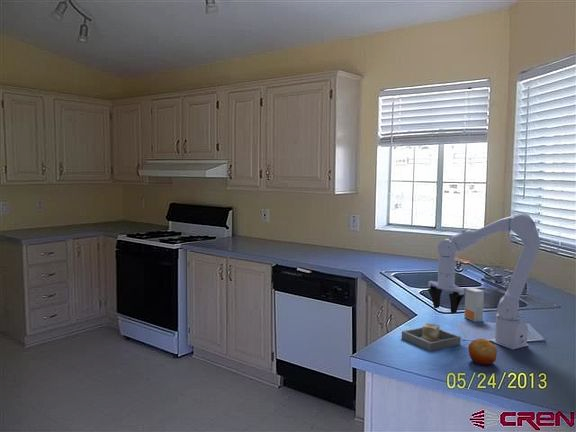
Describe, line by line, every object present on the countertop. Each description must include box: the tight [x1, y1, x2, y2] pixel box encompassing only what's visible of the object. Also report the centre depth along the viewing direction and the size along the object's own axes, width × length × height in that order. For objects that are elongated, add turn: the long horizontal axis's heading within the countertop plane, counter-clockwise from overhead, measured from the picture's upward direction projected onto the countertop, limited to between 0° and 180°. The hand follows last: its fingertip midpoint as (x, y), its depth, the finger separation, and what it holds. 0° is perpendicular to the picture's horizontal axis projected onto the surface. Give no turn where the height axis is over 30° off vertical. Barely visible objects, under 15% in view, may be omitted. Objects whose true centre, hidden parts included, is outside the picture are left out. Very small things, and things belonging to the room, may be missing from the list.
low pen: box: [401, 326, 462, 352], centre depth 165 cm, size 14×14×2 cm
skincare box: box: [463, 287, 485, 323], centre depth 190 cm, size 6×4×12 cm
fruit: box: [467, 338, 498, 366], centre depth 147 cm, size 8×8×8 cm
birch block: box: [421, 322, 440, 342], centre depth 164 cm, size 4×4×5 cm
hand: (444, 310), depth 173 cm, fingers open, 7 cm apart
